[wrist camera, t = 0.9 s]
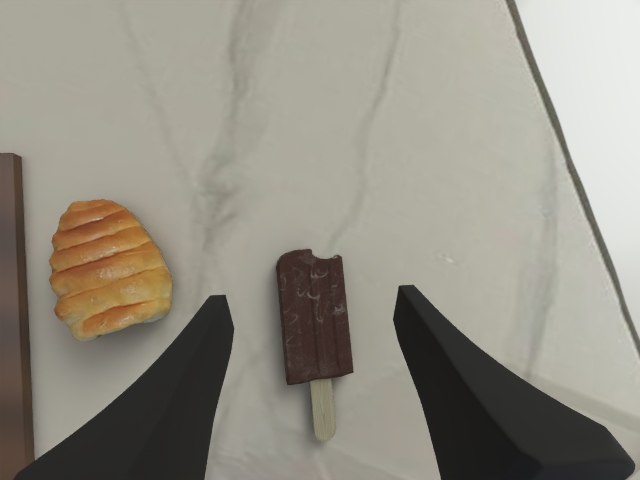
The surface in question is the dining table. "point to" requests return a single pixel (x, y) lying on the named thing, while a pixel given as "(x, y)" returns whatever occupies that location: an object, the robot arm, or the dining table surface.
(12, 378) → the walnut board
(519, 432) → the robot arm
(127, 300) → the pastry
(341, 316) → the ice cream bar
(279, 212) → the dining table surface
